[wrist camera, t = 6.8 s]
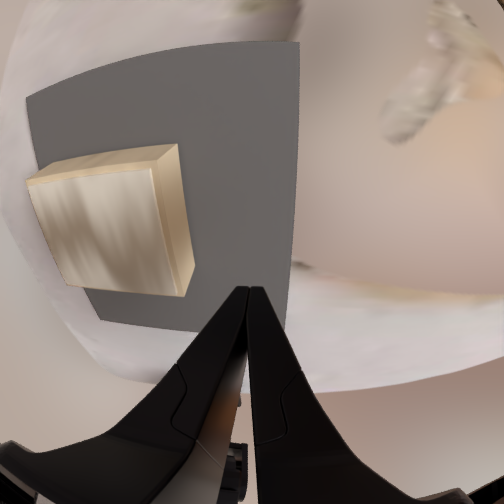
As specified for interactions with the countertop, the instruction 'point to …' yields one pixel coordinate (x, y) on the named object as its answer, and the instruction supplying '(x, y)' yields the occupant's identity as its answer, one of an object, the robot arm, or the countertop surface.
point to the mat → (195, 161)
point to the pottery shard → (501, 3)
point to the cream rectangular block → (117, 220)
